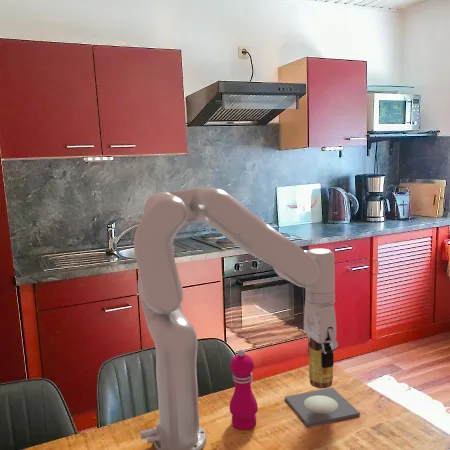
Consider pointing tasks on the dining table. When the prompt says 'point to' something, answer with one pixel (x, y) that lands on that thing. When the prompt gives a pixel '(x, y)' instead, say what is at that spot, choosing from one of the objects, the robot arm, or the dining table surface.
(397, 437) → the dining table surface
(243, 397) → the pepper mill
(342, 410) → the bottle mat
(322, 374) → the sauce bottle
